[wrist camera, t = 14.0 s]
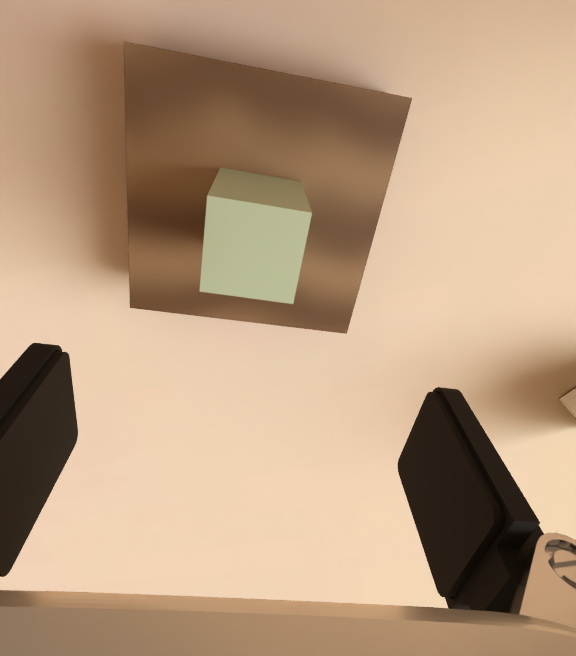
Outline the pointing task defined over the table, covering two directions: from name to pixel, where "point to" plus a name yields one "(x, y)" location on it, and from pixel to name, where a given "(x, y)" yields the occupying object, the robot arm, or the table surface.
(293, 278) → the sage block
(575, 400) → the small box
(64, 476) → the table surface
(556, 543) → the robot arm
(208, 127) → the walnut base
